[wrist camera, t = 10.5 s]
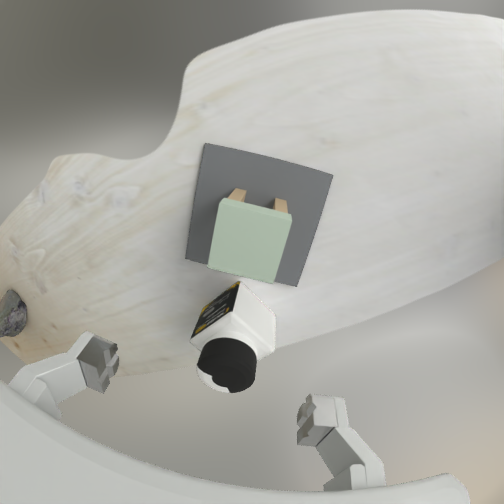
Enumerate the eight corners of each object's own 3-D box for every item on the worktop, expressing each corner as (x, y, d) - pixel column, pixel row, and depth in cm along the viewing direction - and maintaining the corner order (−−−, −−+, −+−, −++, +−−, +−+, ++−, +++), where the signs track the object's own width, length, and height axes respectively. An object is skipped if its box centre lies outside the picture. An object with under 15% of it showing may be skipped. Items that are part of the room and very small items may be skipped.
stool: (288, 199, 29) (292, 221, 22) (274, 249, 32) (273, 284, 24) (234, 185, 29) (219, 203, 22) (223, 236, 32) (207, 267, 24)
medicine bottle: (239, 278, 34) (222, 344, 23) (277, 314, 36) (274, 384, 25) (202, 307, 37) (175, 372, 26) (238, 339, 38) (225, 406, 27)
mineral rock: (17, 329, 47) (-5, 353, 38) (-4, 292, 43) (-29, 313, 34) (40, 328, 44) (15, 356, 35) (16, 285, 41) (-13, 310, 31)
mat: (332, 174, 28) (333, 175, 28) (296, 285, 34) (296, 286, 33) (206, 143, 28) (205, 143, 28) (186, 257, 34) (185, 258, 33)
